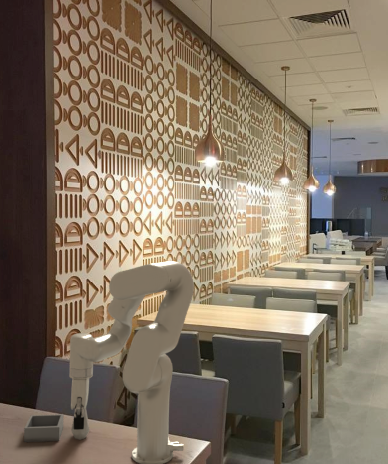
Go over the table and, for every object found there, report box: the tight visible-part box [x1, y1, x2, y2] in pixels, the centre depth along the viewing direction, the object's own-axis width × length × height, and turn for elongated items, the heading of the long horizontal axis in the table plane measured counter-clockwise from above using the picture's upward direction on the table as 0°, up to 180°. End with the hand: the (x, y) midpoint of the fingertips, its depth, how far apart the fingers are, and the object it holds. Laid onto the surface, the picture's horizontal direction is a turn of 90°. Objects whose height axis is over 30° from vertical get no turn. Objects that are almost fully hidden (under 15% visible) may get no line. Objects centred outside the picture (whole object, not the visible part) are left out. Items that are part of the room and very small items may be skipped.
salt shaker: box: [71, 399, 90, 441], centre depth 169 cm, size 6×6×13 cm
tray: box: [23, 413, 65, 443], centre depth 170 cm, size 11×11×4 cm
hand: (80, 423), depth 169 cm, fingers open, 9 cm apart
